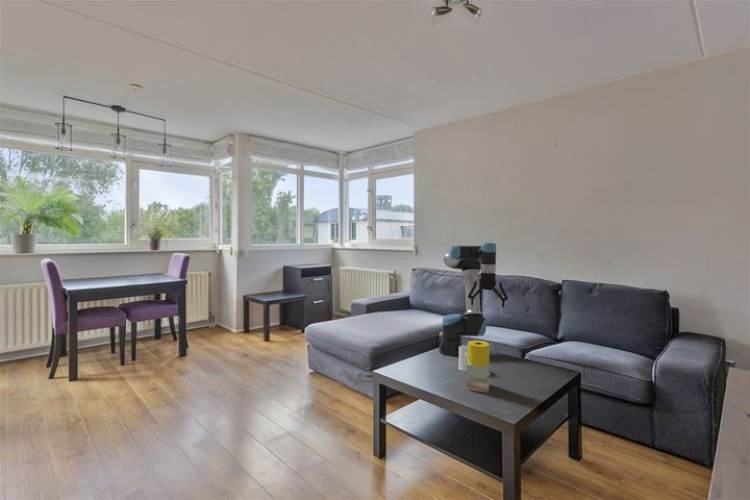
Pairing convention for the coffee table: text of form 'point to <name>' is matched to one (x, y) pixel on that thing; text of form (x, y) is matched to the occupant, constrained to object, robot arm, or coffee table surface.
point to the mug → (463, 357)
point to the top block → (477, 371)
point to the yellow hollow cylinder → (478, 353)
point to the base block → (478, 384)
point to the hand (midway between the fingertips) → (487, 312)
